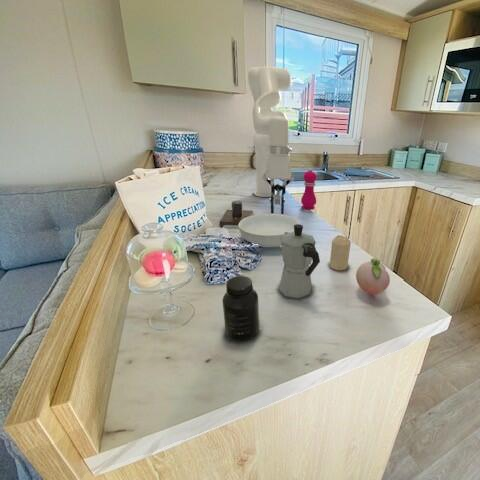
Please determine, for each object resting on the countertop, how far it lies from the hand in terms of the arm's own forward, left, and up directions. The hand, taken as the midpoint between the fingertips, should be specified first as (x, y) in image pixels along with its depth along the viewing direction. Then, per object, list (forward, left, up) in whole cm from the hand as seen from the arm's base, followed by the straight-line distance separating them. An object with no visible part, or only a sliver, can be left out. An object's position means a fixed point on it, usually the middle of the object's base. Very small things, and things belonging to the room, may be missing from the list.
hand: (278, 194), depth 118 cm
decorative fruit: (+57, +26, -10) cm, 64 cm away
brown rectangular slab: (+8, -16, -10) cm, 20 cm away
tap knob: (+8, -16, -7) cm, 19 cm away
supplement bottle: (+70, -5, -10) cm, 71 cm away
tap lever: (+4, 0, 0) cm, 4 cm away
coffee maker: (+56, +7, -10) cm, 58 cm away
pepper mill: (-10, +14, -10) cm, 20 cm away
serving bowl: (+26, -2, -10) cm, 28 cm away
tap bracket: (+9, 0, -10) cm, 13 cm away
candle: (+43, +20, -10) cm, 49 cm away
